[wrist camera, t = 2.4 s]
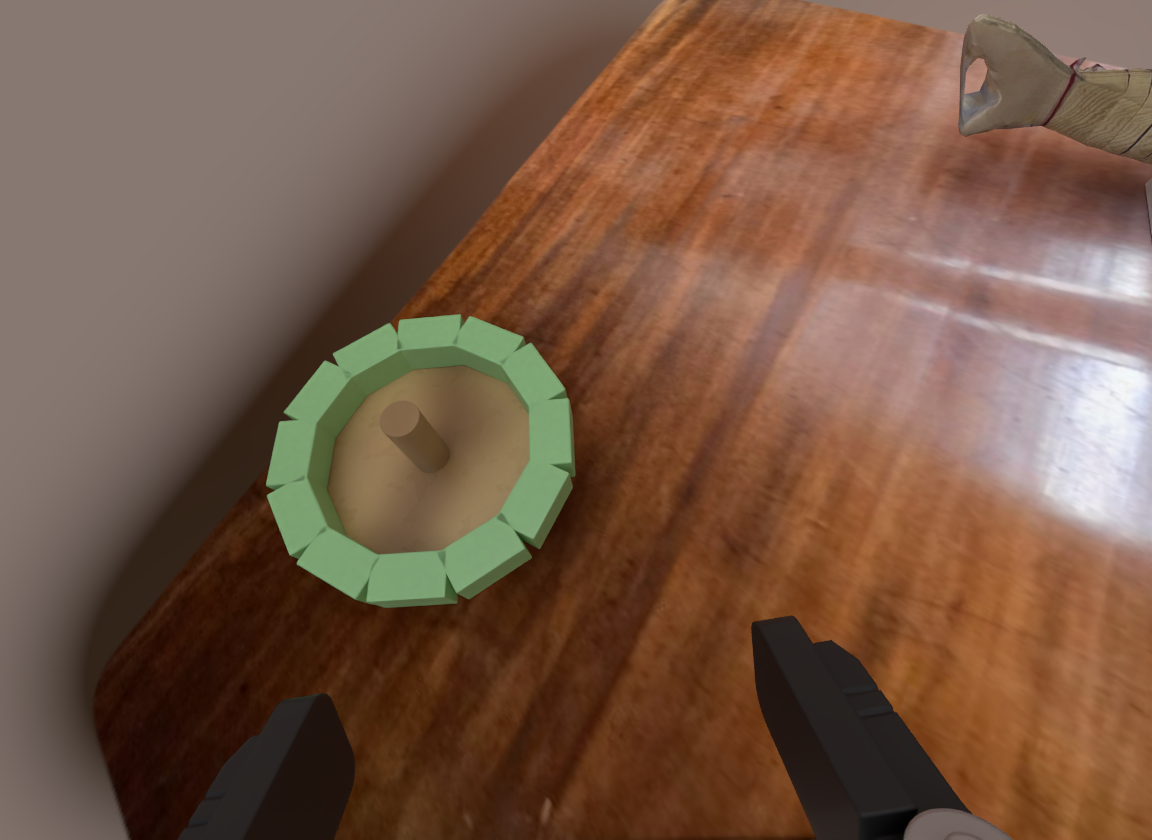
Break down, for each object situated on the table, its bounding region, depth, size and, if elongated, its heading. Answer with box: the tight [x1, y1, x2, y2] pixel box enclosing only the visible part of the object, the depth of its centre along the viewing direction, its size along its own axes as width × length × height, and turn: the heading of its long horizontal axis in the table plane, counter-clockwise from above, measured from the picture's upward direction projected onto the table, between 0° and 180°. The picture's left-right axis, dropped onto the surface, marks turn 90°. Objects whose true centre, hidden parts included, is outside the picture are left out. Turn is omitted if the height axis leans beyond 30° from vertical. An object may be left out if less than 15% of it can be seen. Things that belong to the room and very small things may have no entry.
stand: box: [327, 365, 529, 554], centre depth 28 cm, size 12×12×10 cm
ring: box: [266, 314, 576, 608], centre depth 27 cm, size 15×15×2 cm
